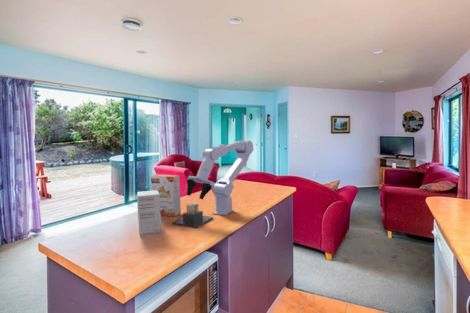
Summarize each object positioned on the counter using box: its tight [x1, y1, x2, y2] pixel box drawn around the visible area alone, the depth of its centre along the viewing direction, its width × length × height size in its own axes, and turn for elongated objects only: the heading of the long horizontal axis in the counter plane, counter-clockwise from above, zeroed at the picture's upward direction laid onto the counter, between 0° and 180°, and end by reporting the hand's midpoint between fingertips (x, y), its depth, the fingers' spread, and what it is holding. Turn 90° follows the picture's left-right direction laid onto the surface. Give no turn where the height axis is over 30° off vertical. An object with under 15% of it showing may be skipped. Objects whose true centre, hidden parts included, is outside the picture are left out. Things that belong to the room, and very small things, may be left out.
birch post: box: [185, 202, 200, 214], centre depth 127 cm, size 4×4×7 cm
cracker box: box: [150, 174, 182, 217], centre depth 139 cm, size 14×6×21 cm, turn 69°
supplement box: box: [136, 190, 162, 236], centre depth 117 cm, size 10×9×17 cm
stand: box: [171, 210, 214, 229], centre depth 127 cm, size 14×14×5 cm
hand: (194, 197), depth 126 cm, fingers open, 7 cm apart
